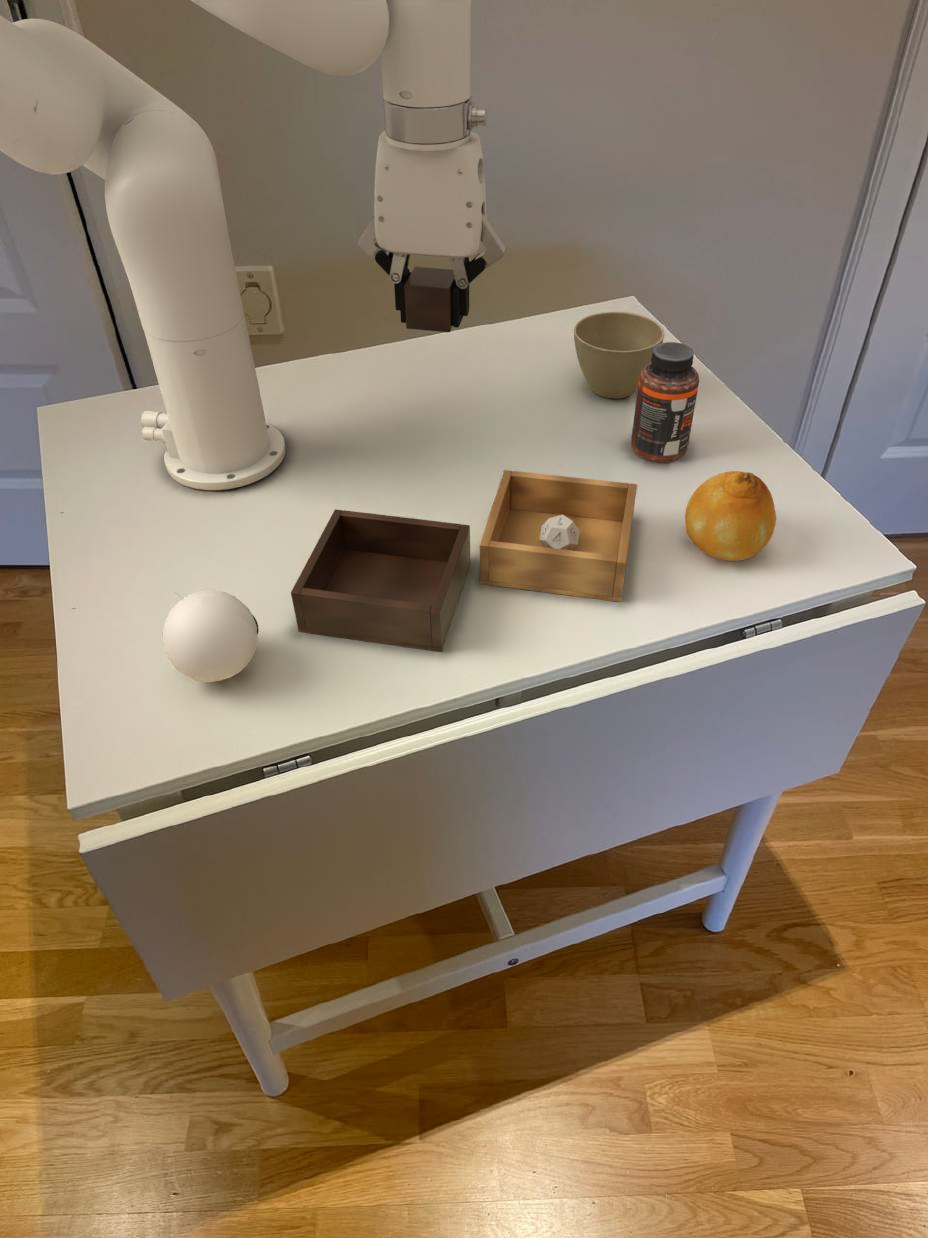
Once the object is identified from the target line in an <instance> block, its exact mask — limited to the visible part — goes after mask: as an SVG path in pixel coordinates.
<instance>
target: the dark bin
mask: <svg viewBox="0 0 928 1238" xmlns="http://www.w3.org/2000/svg"><path fill="white" fill-rule="evenodd" d="M471 564H472V559H471V525H470V524H464V523H462V524H461V523H455V522H445V521H437V520H430V519H421V518H412V517H405V516H395V515H386V514H378V513H371V512H361V511H354V510H345V509H344V510H342V509H334V511H333V512H332V514H331V516H330V517H329V519H328V522H327V523H326V525H325V527H324V529H323V531H322V533H321V535H320V537H319V538H318V541H317V542H316V544H315V546H314V548H313V550H312V552H311V553H310V555H309V558H308V560H307V561H306V563H305V565H304V567H303V569H302V570H301V573H300V575H299V576H298V578H297V580H296V581H295V584H294V586H293V588H292V590H290V591H291V592H290V594H291V595H290V597H291V600H292V604H293V605H292V606H293V610H294V615H295V619H296V620H295V621H296V626H297V630H298V631H297V632H299V633H307V634H312V635H321V636H328V637H335V638H340V639H341V638H343V639H349V640H355V641H363V642H369V643H376V644H381V645H383V644H384V645H390V646H398V647H403V648H410V649H419V650H425V651H431V652H439V653H442V652H443V649H444V646H445V643H446V640H447V637H448V635H449V631H450V628H451V625H452V622H453V619H454V616H455V612H456V610H457V607H458V604H459V602H460V601H459V600H460V597H461V594H462V591H463V589H464V585H465V583H466V579H467V576H468V574H469V570H470V567H471Z"/></svg>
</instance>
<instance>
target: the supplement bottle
mask: <svg viewBox="0 0 928 1238" xmlns="http://www.w3.org/2000/svg"><path fill="white" fill-rule="evenodd" d="M694 356H695V351H694V349H693V348H692V347H690V345H687V344H685V343H681V342H676V341H666V342H663V343H661V344H658V345H656V346H655V347H654V349H653V353H652V357H651V363H649V364H648V365H646V366H645V367H644V368H643V369H642V371H641V373H640V377H639V384H638V388H637V391H636V400H635V407H634V415H633V424H632V433H631V442H630V443H631V444H630V445H631V448H632V450H633V452H634V453H635V454H636V455H637V456H638V457H640V458H642V459H644V460H646V461H649V462H650V461H651V462H656V463H670V462H674V461H677V460H678V459H680V458H682V457H683V456H684V455H685V454H686V452H687V450H688V447H689V443H690V436H691V431H692V426H693V419H694V413H695V409H696V404H697V397H698V392H699V385H700V376H699V373H698V371H697V369H695V367H693V364H694Z"/></svg>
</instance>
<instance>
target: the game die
mask: <svg viewBox="0 0 928 1238" xmlns="http://www.w3.org/2000/svg"><path fill="white" fill-rule="evenodd" d="M579 534H580V530H579V529H578V527H577V526H576V524H575V523H574V522H573V521H572V520H570V519H569V518H567V517H566V516H564V515H559V516H555V517H552V518H549V519H548V520H547V521H546V522H545V523H544V524H543V525H542V528H541V534H540V539H539V540H540V541H541V542H542V543H543V545H544V546H545V547H547V548H555V549H563V550H572V549H573V548H574V547H576V546H577V545H578V540H579Z"/></svg>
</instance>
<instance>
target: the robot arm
mask: <svg viewBox="0 0 928 1238" xmlns="http://www.w3.org/2000/svg"><path fill="white" fill-rule="evenodd" d="M189 1H191V2H192V3H193V4H195V5H197V6H198V7H200V8H202V9H203V10H205V11H206V12H208V13H210V14H212V15H213V16H214V17H216V18H218V19H220V20H221V21H223V22H225V23H226V24H228V25H230V26H232V27H233V28H235V29H237V30H238V31H240V32H242V33H244V34H246V35H247V36H249V37H252V38H253V39H254V40H257V41H258V42H261V43H262V44H264V45H266V46H268V47H270V48H272V49H274V50H275V51H278V52H280V53H281V54H283V55H285V56H287V57H289V58H291V59H293V60H295V61H296V62H299V63H301V64H302V65H304V66H306V67H309V68H310V69H312V70H314V71H317V72H320V73H321V74H326V75H329V76H334V77H350V76H354V75H358V74H361V72H364V71H366V70H368V69H369V68H370V67H371V66H372V65H373V64H375V62H376V61H377V60H378V58H379V57H380V62H381V78H382V79H381V80H382V81H381V82H382V96H383V98H382V99H383V114H384V115H383V117H384V130H383V131H382V132H381V133H380V135H379V137H378V141H377V147H376V148H377V149H376V155H375V156H376V159H375V169H374V171H375V172H374V194H373V195H374V198H373V199H374V201H373V209H374V210H373V213H374V214H373V216H372V218H371V219H370V221H369V222H368V224H367V226H366V227H365V228H364V230H363V232H362V233H361V235H360V236H359V238H358V239H357V242H356V245H357V247H358V248H359V249H360V250H361V251H362V252H364V253H365V254H367V256H369V257H370V258H373V259H374V260H375V263H376V264H377V265H378V266H379V268H381V269H382V270H383V271H384V272H385V273H386V274H387V275H388V276H389V280H390V282H391V283H393V286H394V287H393V288H394V305H395V311H399V312H400V323H403V324H406V312H405V290H404V285H405V283H406V281H407V279H408V278H409V276H410V274H411V272H412V271H410V269H409V264H410V259H411V255H413V256H426V257H440V258H449V260H450V265H451V270H453V273H454V277H455V280H454V285H453V287H452V290H451V315H452V326H453V327H452V328H460V325H461V324H462V321H463V318H464V317H468V315H469V313H470V284H471V283H472V282H473V281H474V280H475V279H476V278H477V277H478V276H480V275H481V274H482V273H483V272H484V270H485V269H487V268H489V267H491V266H492V265H494V264H495V263H497V262H499V261H500V260H502V259H503V258H504V255H505V253H506V246H505V244H504V243H503V241H502V240H501V238H500V237H499V235H498V234H497V233H496V231H495V229H494V228H493V226H492V224H491V223H490V221H489V219H487V218H488V216H487V215H488V214H487V212H488V211H487V191H486V188H487V187H486V175H485V164H484V155H483V149H482V144H481V138H480V135H479V134H478V133H475V132H471V131H473V129H474V128H478V127H479V126H480V127H486V126H487V122H488V109H487V108H484V107H483V108H482V107H481V108H480V107H479V106H478V105H475V102H473V96H472V95H471V90H472V89H471V85H472V84H471V81H472V78H471V77H472V76H471V74H472V73H471V72H472V71H471V69H472V68H471V66H472V65H471V63H472V61H471V60H472V59H471V54H472V53H471V49H472V47H471V46H472V44H471V43H472V42H471V41H472V40H471V36H472V33H471V29H472V28H471V27H472V25H471V24H472V0H189ZM0 152H1V153H2V154H5V155H6V156H7V157H9V158H10V159H12V160H14V161H15V162H16V163H18V164H20V165H22V166H24V167H26V168H28V169H30V170H32V171H35V172H37V173H41V174H48V175H64V174H68V173H70V172H73V171H75V170H77V169H78V168H80V167H84V168H85V169H87V170H89V171H90V172H92V173H93V174H95V175H97V176H98V177H99V178H101V179H103V180H104V202H105V210H106V215H107V220H108V224H109V228H110V231H111V236H112V237H113V241H114V243H115V246H116V250H117V251H118V255H119V256H120V260H121V262H122V265H123V269H124V271H125V274H126V277H127V280H128V282H129V286H130V289H131V293H132V296H133V299H134V303H135V306H136V311H137V313H138V317H139V320H140V324H141V328H142V330H143V332H144V336H145V339H146V340H145V341H146V344H147V348H148V350H149V354H150V359H151V361H152V365H153V368H154V372H155V376H156V379H157V383H158V387H159V390H160V393H161V394H160V395H161V397H162V401H163V405H164V408H165V411H166V413H164V412H163V411H153V410H144V411H143V412H142V413H141V416H140V417H141V418H140V422H141V426H142V429H141V435H142V436H141V437H142V439H143V440H144V441H154V442H157V441H159V442H163V444H164V445H166V449H165V451H164V456H163V458H164V459H163V460H164V465H165V468H166V471H167V473H168V474H169V476H170V477H171V479H173V480H174V481H176V482H177V483H179V484H181V485H183V486H185V487H187V488H192V489H196V490H203V491H222V490H224V491H225V490H232V489H236V488H241V487H244V486H248V485H250V484H254V483H256V482H258V481H260V480H263V479H264V478H266V477H267V476H268V475H270V474H271V473H273V472H274V471H275V470H276V469H277V468H278V467H279V466H280V464H281V463H282V462H283V460H284V458H285V456H286V450H287V449H286V444H285V443H286V442H285V437H284V435H283V434H282V432H281V431H280V430H279V429H278V428H277V427H276V426H274V425H273V424H271V423H269V422H267V421H266V417H265V412H264V407H263V406H264V405H263V402H262V396H261V391H260V386H259V380H258V375H257V372H256V371H257V370H256V365H255V359H254V355H253V350H252V345H251V340H250V335H249V330H248V324H247V319H246V315H245V310H244V306H243V301H242V295H241V290H240V286H239V282H238V281H239V280H238V276H237V271H236V266H235V261H234V260H235V259H234V256H233V251H232V246H231V240H230V236H229V235H230V234H229V229H228V222H227V218H226V211H225V205H224V199H223V194H222V188H221V187H222V186H221V179H220V174H219V168H218V167H219V166H218V160H217V157H216V153H215V150H214V148H213V145H212V143H211V140H210V138H209V137H208V136H207V134H206V133H205V130H204V129H203V128H202V127H201V126H200V125H199V123H198V122H196V121H195V119H193V118H192V117H191V116H190V115H189V114H188V113H187V112H186V111H184V110H183V109H182V108H181V107H179V106H178V105H176V104H175V103H174V102H173V101H171V100H170V99H169V98H167V97H166V96H164V95H163V94H162V93H160V92H159V91H158V90H156V89H155V88H154V87H152V86H151V85H150V84H149V83H147V82H146V81H144V80H143V79H142V78H140V77H139V76H137V75H136V74H135V73H133V72H132V71H131V70H129V69H128V68H127V67H126V66H124V65H123V64H121V63H120V62H118V61H117V60H116V59H115V58H113V57H112V56H111V55H109V54H108V53H106V52H105V51H104V50H103V49H101V48H100V47H99V46H97V45H96V44H95V43H94V42H92V41H90V40H89V39H87V38H86V37H84V36H83V35H81V34H80V33H78V32H77V31H74V30H72V29H71V28H69V27H67V26H64V25H63V24H60V23H58V22H56V21H55V22H54V21H51V20H49V19H41V18H25V19H20V20H17V21H14V22H11V21H10V20H8V19H7V18H5V17H4V16H3V15H1V14H0ZM480 242H481V243H482V245H483V246H484V247H485V249H484V250H483V252H481V253H478V252H479V249H480ZM477 253H478V254H477ZM476 254H477V255H476ZM473 256H475V257H473ZM471 257H473V258H472V259H471Z"/></svg>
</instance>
